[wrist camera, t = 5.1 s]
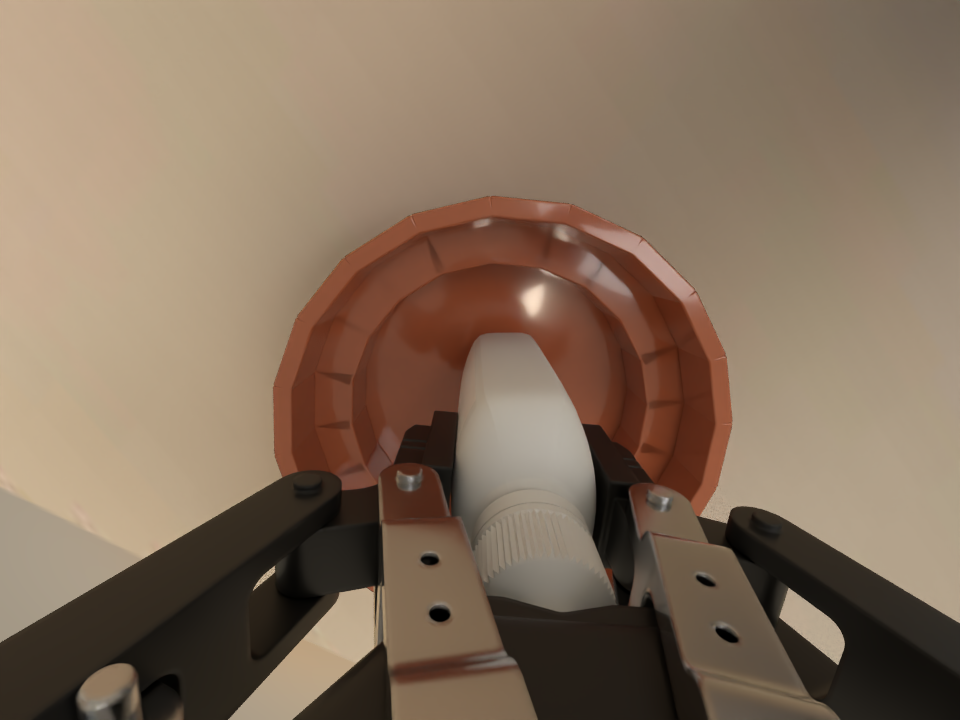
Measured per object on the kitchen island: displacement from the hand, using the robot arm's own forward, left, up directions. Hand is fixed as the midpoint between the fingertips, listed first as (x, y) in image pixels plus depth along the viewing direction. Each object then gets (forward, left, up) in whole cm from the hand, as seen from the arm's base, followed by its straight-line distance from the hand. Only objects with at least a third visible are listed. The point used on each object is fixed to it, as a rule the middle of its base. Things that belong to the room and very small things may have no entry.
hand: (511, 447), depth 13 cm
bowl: (0, 0, -6) cm, 6 cm away
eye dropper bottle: (0, 0, -4) cm, 4 cm away
